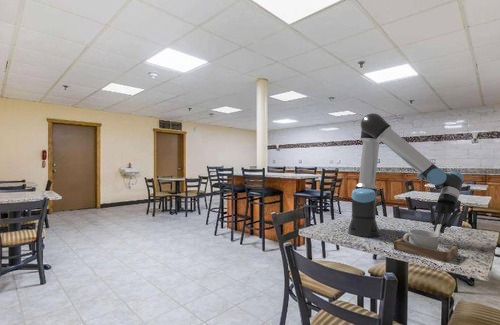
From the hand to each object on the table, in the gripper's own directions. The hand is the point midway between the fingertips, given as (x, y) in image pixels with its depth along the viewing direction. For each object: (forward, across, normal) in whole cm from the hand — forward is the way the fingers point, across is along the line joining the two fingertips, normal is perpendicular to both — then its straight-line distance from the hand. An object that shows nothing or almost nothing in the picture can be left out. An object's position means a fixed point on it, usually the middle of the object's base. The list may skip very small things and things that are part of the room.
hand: (436, 237), depth 121 cm
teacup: (+13, +2, +7) cm, 15 cm away
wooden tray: (+13, 0, +7) cm, 15 cm away
